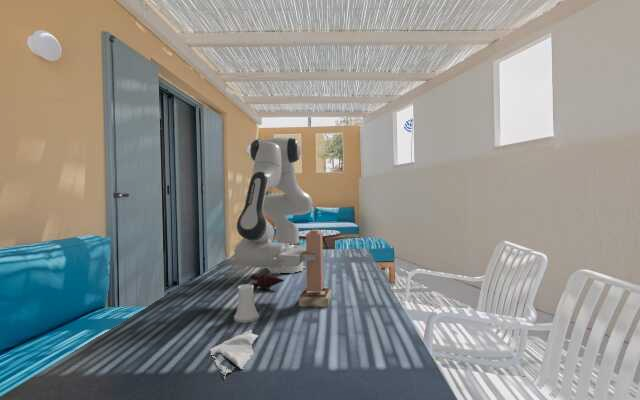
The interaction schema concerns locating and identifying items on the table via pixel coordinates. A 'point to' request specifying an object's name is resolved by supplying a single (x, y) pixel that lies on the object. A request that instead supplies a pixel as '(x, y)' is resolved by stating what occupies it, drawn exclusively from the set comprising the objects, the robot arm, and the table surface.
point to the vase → (246, 305)
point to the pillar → (314, 261)
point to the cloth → (235, 350)
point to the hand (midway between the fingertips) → (317, 255)
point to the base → (315, 298)
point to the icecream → (265, 280)
